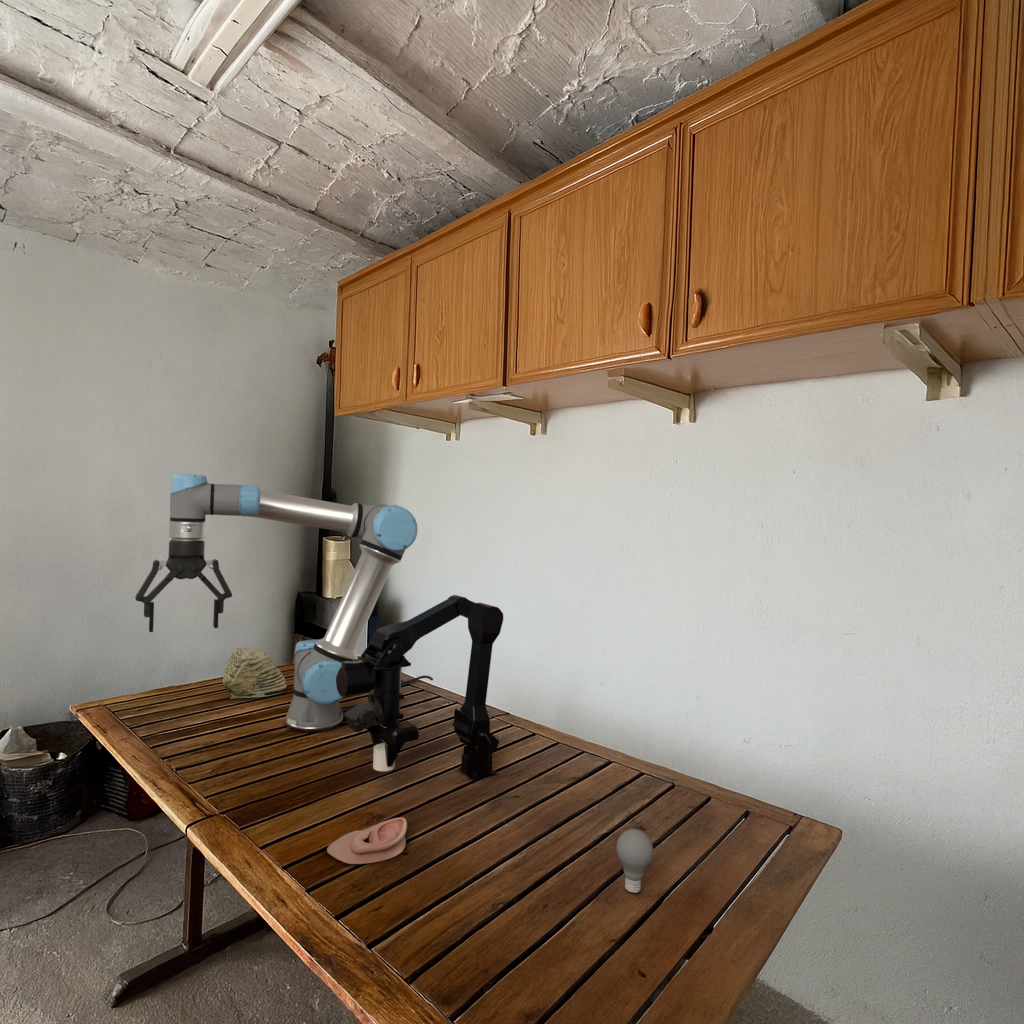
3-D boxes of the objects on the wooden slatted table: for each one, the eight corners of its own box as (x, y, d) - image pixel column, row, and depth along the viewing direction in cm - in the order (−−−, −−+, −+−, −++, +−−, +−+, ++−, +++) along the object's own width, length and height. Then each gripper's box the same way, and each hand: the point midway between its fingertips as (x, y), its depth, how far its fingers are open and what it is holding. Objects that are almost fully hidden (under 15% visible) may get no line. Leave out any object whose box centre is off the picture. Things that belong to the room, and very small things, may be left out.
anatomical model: (319, 836, 111) (348, 806, 122) (318, 859, 111) (348, 826, 122) (390, 848, 108) (414, 816, 119) (389, 871, 108) (413, 836, 119)
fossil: (218, 695, 195) (220, 647, 195) (278, 685, 208) (279, 640, 207) (228, 703, 189) (230, 653, 188) (289, 692, 201) (290, 645, 201)
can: (390, 772, 131) (391, 752, 131) (369, 770, 132) (370, 750, 132) (398, 763, 136) (398, 744, 136) (377, 761, 137) (378, 741, 136)
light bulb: (610, 879, 108) (613, 822, 108) (644, 879, 109) (647, 822, 109) (619, 902, 102) (622, 840, 102) (655, 901, 103) (658, 840, 103)
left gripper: (125, 540, 140) (122, 636, 140) (246, 540, 153) (243, 628, 153) (125, 538, 146) (122, 629, 146) (241, 538, 159) (238, 622, 160)
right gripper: (333, 683, 136) (330, 754, 136) (370, 708, 121) (367, 788, 122) (380, 675, 143) (378, 744, 143) (421, 698, 128) (418, 775, 128)
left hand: (184, 629), depth 150 cm, fingers open, 13 cm apart
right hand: (384, 762), depth 134 cm, fingers closed on can, 4 cm apart
